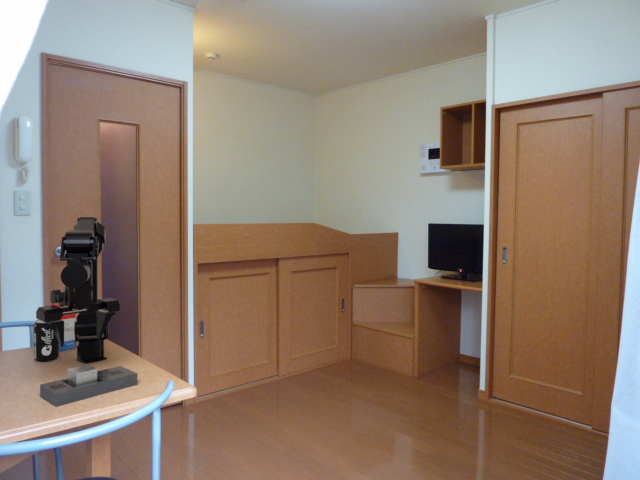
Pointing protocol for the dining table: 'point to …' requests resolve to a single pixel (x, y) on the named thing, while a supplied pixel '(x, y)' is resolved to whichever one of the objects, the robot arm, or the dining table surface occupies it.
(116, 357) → the dining table surface
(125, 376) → the grey slotted board
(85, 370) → the block
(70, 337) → the ink box
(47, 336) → the beverage can
